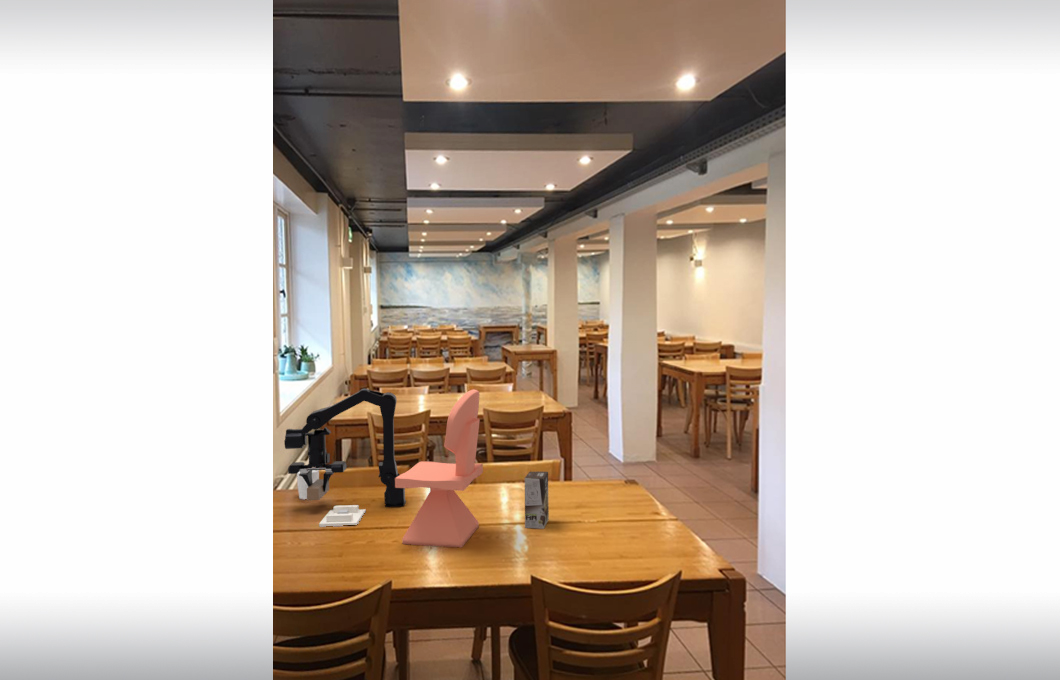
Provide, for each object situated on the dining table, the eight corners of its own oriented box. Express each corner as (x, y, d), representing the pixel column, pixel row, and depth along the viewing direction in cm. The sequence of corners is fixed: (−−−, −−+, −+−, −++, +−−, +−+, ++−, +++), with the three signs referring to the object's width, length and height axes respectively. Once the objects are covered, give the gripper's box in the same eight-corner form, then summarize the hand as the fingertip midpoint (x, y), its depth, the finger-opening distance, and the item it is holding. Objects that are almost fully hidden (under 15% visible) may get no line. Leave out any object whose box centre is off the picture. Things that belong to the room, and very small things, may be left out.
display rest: (365, 512, 226) (365, 503, 226) (356, 525, 212) (356, 516, 212) (330, 513, 226) (330, 504, 226) (319, 526, 212) (318, 517, 212)
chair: (425, 519, 218) (422, 383, 216) (491, 522, 214) (488, 384, 211) (392, 549, 192) (388, 395, 189) (466, 554, 187) (463, 396, 185)
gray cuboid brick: (318, 490, 236) (317, 479, 236) (329, 490, 236) (328, 479, 236) (307, 500, 224) (306, 488, 224) (318, 500, 224) (318, 488, 224)
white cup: (315, 500, 241) (314, 473, 241) (294, 500, 241) (293, 473, 241) (322, 493, 249) (321, 467, 249) (302, 494, 249) (301, 467, 249)
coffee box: (544, 529, 207) (543, 478, 206) (524, 528, 208) (523, 477, 207) (549, 519, 216) (548, 471, 215) (530, 518, 217) (529, 470, 216)
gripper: (349, 442, 238) (350, 484, 239) (296, 443, 237) (298, 486, 238) (341, 448, 227) (343, 493, 228) (286, 450, 226) (288, 495, 227)
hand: (318, 491), depth 230 cm, fingers closed on gray cuboid brick, 4 cm apart
